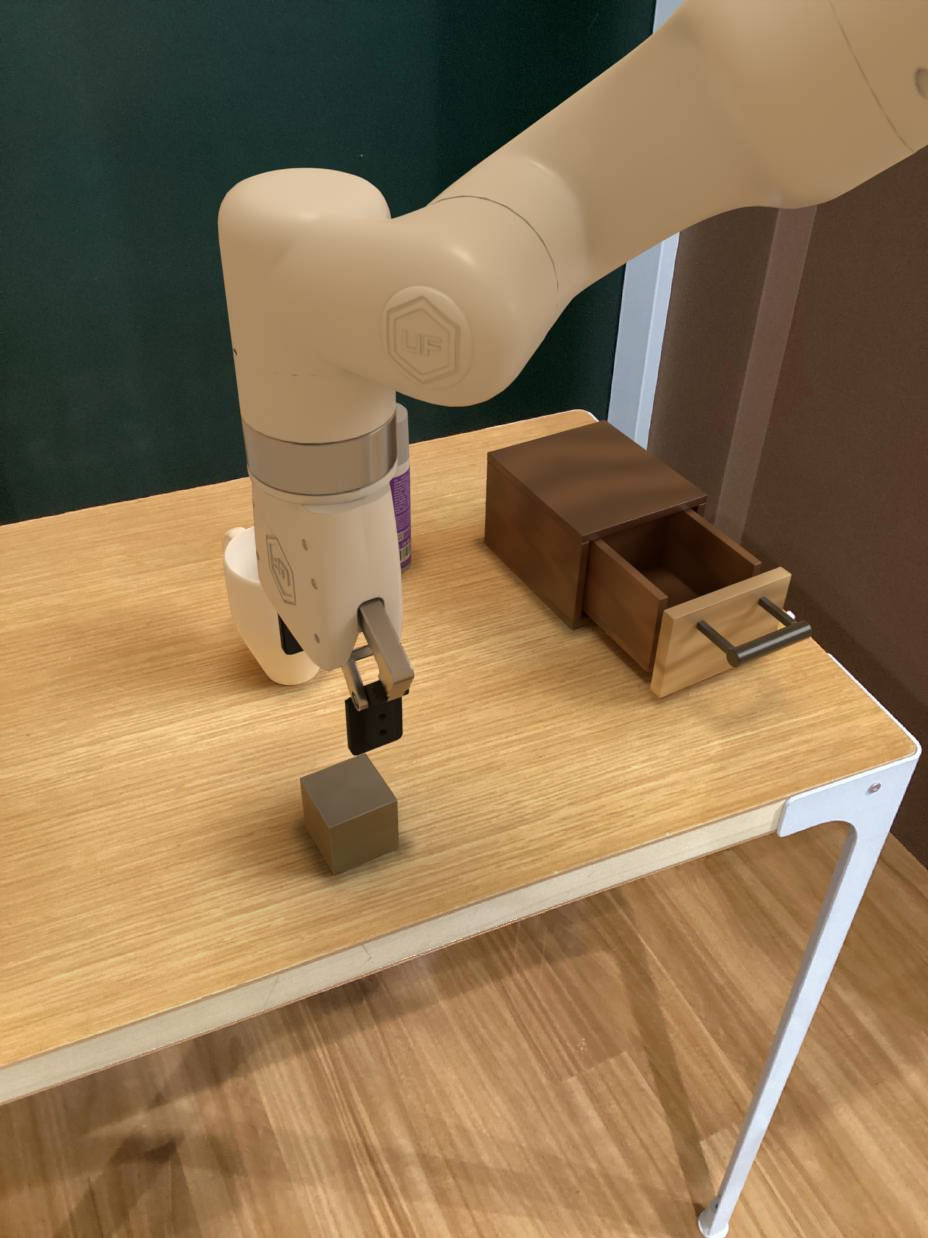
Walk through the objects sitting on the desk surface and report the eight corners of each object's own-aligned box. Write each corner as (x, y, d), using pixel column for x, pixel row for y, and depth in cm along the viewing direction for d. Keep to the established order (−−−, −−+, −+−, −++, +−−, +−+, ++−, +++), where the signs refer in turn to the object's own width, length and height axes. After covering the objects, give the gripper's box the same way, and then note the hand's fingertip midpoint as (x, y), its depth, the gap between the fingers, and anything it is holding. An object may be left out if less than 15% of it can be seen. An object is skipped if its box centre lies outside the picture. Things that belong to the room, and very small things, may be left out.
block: (368, 800, 75) (365, 752, 72) (399, 848, 71) (398, 799, 68) (304, 826, 73) (298, 777, 70) (333, 876, 69) (329, 828, 66)
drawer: (815, 688, 83) (838, 609, 78) (700, 738, 79) (718, 658, 74) (667, 565, 95) (680, 490, 90) (561, 602, 91) (568, 526, 86)
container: (399, 542, 99) (395, 395, 90) (419, 569, 96) (418, 419, 86) (352, 554, 97) (343, 405, 88) (371, 582, 94) (364, 431, 85)
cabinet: (690, 587, 94) (707, 494, 88) (572, 630, 89) (582, 535, 83) (594, 507, 104) (604, 419, 98) (483, 542, 99) (487, 452, 93)
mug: (365, 672, 85) (359, 554, 78) (277, 719, 81) (262, 599, 73) (281, 600, 92) (268, 487, 85) (196, 640, 88) (175, 524, 80)
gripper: (191, 384, 57) (229, 630, 68) (322, 549, 46) (343, 814, 56) (320, 356, 60) (337, 596, 71) (474, 504, 49) (466, 764, 59)
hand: (339, 692), depth 64 cm, fingers open, 9 cm apart
